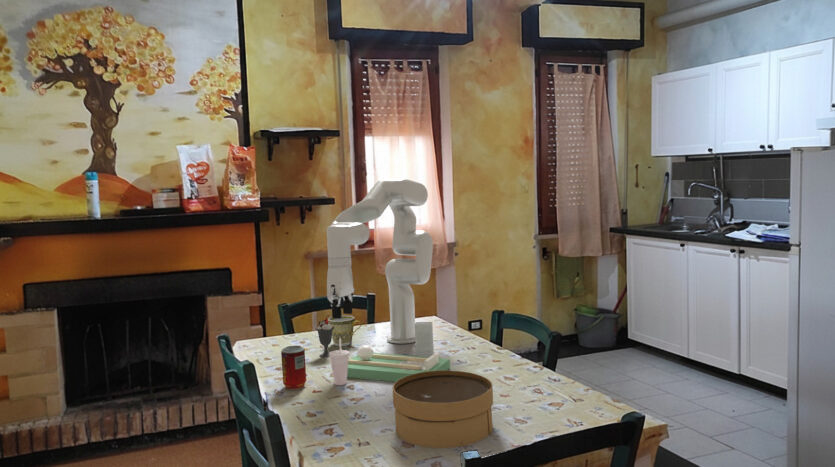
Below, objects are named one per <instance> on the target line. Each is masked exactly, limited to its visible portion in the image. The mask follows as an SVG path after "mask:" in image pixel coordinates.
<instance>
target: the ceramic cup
mask: <svg viewBox="0 0 835 467" xmlns="http://www.w3.org/2000/svg"><path fill="white" fill-rule="evenodd" d="M327 319H328V321H329V323H330V325H331V326H333V327H335V328H334V329H333V331H332V342H333V345H334V346H336V347H340V344H339V339H341V347H345V346H349V345H352V342H353V336H354V334H355V333H356V332H357V331H358V330H359V329H360V328H361V327H362V322H361V321H360V320H358V319H357V320H356V318H355V317H354V316H353V315H342V318H340V319H337V318H332V316H330V317H329V318H327ZM356 323H359V326H358V327H357V328H356V329H355V330H354V327H355V324H356Z"/></svg>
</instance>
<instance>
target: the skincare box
mask: <svg viewBox="0 0 835 467" xmlns="http://www.w3.org/2000/svg"><path fill="white" fill-rule="evenodd" d="M414 343H415V356H419V357H431V356H432V355H433V354H435V349H434V347H435V346H434V345H435V344H434V330H433V321H415V342H414Z"/></svg>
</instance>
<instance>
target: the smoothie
mask: <svg viewBox="0 0 835 467" xmlns="http://www.w3.org/2000/svg"><path fill="white" fill-rule="evenodd" d="M339 344H340V346H339V349H336V350H331V351H329V357H328V358H329V359H330V365H331V370H332V375H333V376H332V377H333V382H334V385H336V386H343V385H346V384H347V382H348V377H347V372H348V359H349V357H350V356H351V355H350V351H349V350H347V349H343V348H342V346H341V339H339Z"/></svg>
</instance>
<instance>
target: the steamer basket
mask: <svg viewBox="0 0 835 467" xmlns="http://www.w3.org/2000/svg"><path fill="white" fill-rule="evenodd" d="M493 389H494V388H493V382H492V381H491V380H490V379H489V378H487V377H485V376H483V375H481V374H477V373H472V372H468V371H460V370H447V371H428V372H421V373H416V374H412V375H409V376H406V377H403V378H401V379H399V380H398V381H397V382H394V384H393V385H392V400H393V401H392V403H393V408H394V414H395V433H396V435H397V437H399V438H400V439H401V440H403V441H405V442H406V443H409V444H411V445H414V446H419V447H424V448H432V449H433V448H434V449H436V448H437V449H446V448H447V449H449V448H460V447H466V446H469V445H473V444H476V443H478V442H480V441H482V440H484V439H486V438H487V437H488V436H491V434H492V431H493V428H494V427H493V426H494V425H493V414H492V412H493V411H492V406H493V405H494V394H493V393H494V392H493Z"/></svg>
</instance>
